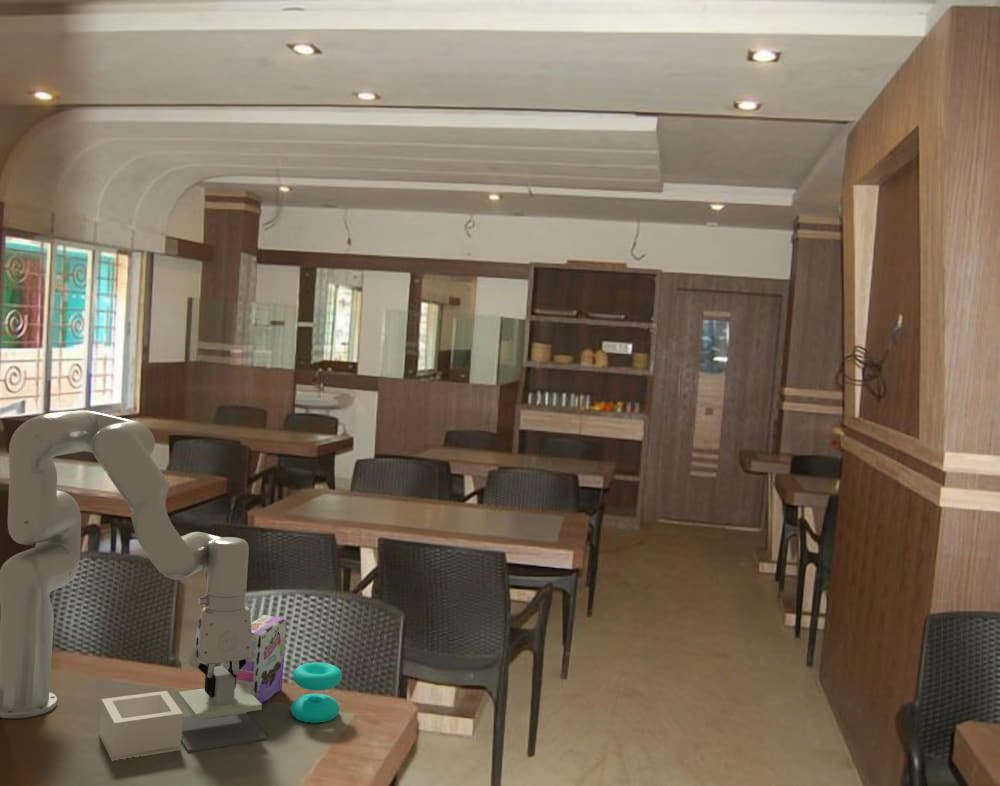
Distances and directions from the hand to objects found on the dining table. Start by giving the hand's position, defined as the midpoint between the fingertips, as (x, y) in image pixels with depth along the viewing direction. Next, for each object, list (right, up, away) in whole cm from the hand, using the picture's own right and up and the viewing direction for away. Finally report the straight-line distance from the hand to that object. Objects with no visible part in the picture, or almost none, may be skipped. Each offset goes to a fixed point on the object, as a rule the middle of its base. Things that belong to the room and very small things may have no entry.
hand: (219, 693), depth 183 cm
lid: (0, -3, 0) cm, 3 cm away
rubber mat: (-1, -8, 0) cm, 8 cm away
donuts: (+16, -9, +12) cm, 22 cm away
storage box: (-13, -7, -8) cm, 16 cm away
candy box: (+2, -7, +18) cm, 20 cm away
